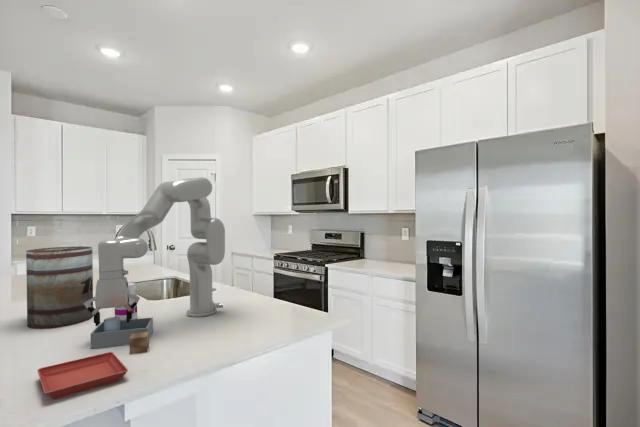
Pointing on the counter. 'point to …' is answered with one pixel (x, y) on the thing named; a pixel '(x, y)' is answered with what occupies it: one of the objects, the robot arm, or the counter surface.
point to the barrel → (58, 286)
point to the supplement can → (122, 310)
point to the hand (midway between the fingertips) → (113, 323)
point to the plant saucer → (81, 375)
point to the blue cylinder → (112, 324)
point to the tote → (120, 333)
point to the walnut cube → (139, 342)
